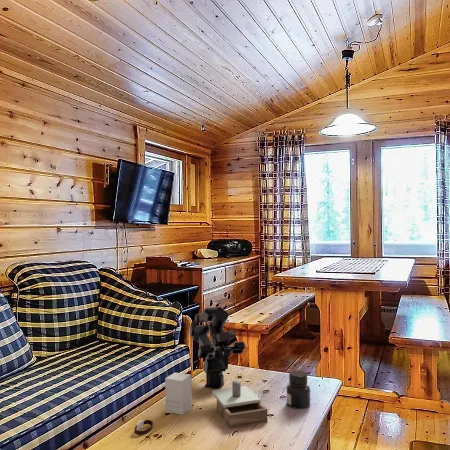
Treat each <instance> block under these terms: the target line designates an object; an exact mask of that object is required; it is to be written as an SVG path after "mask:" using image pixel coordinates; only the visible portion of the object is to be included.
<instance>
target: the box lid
mask: <svg viewBox="0 0 450 450" xmlns="http://www.w3.org/2000/svg"><path fill="white" fill-rule="evenodd" d="M231 385H232V387H227V388H226V387H225V388H218V389H214V390H211V394H212V395H213V396H214V398H215V399H216V401H217V400H218V401H219V402H220V404H221V405H222V406H223V407H224V408H225V407H232V406H238V405H245V404H251V403H258V402H260V403H262V402H261V398H260V397H259V396H257V394H256V393H255V392H253V391H252V390H251V389H250V387H248V385H243V386H241V381H240V380H233V381H232V383H231Z"/></svg>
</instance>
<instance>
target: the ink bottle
mask: <svg viewBox="0 0 450 450" xmlns="http://www.w3.org/2000/svg"><path fill="white" fill-rule="evenodd" d="M288 377H289V378H288V379H289V380H288V381H289V384H288V385H286V405H287V406H288V407H290V408H292V409H297V410H304V409H307V408H309V407H310V406H311V388H310V386H309V385H308V373H307V371H303V370H292V371H289V372H288Z"/></svg>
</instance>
